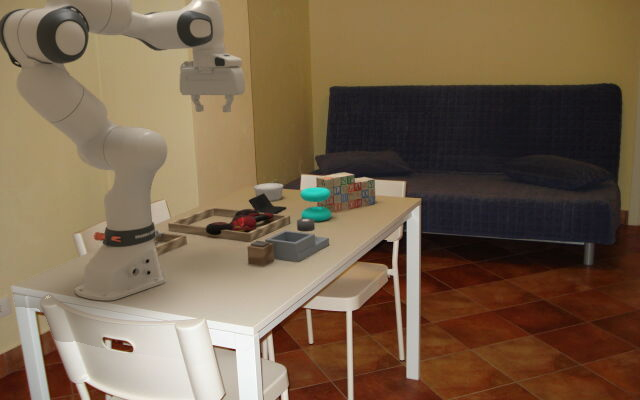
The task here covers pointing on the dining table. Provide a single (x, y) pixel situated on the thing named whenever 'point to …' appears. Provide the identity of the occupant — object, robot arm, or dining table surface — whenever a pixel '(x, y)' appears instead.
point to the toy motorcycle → (239, 222)
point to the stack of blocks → (346, 191)
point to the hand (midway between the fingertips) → (213, 111)
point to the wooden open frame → (184, 227)
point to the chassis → (296, 245)
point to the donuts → (316, 212)
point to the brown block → (260, 253)
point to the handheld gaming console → (265, 205)
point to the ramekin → (270, 190)
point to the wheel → (305, 225)
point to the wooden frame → (170, 242)
